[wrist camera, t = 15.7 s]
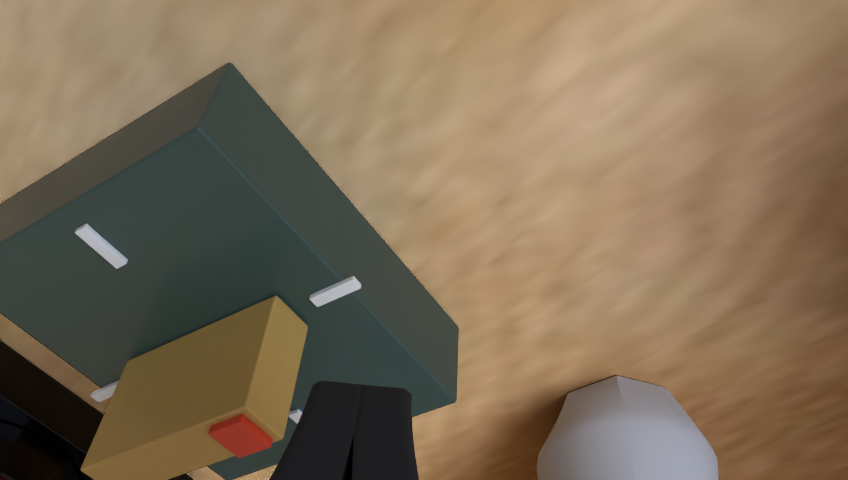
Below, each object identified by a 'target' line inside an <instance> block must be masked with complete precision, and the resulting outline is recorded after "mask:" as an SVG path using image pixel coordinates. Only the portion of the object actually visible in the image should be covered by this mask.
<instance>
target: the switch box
mask: <svg viewBox="0 0 848 480" xmlns="http://www.w3.org/2000/svg"><path fill="white" fill-rule="evenodd" d="M103 416H104V415H102V414H101V413H100V412H98V411H97V410H95V409H94V408H93V407H91V406H90V405H89V404H87V403H86V402H84V401H83V400H82V399H80V398H79V397H77V396H76V395H75V394H73V393H72V392H70V391H69V390H68V389H66V388H65V387H63V386H62V385H61V384H59V383H58V382H56V381H55V380H54V379H52V378H51V377H50V376H48V375H47V374H45V373H44V372H43V371H41V370H40V369H38V368H37V367H36V366H34V365H33V364H31V363H30V362H29V361H27V360H26V359H24V358H23V357H22V356H20V355H19V354H17V353H16V352H15V351H13V350H12V349H10V348H9V347H8V346H6V345H5V344H4V343H2V342H1V341H0V480H94V479H92V478H91V477H89V476H88V475H86V474H85V473H83V472H82V471H81V466H82V464H83V462H84V460H85V457H86V455H87V453H88V450H89V448H90V446H91V443H92V441H93V439H94V437H95V434H96V432H97V430H98V427H99V425H100V423H101V421H102V418H103ZM168 480H193V479H192V478H190V477H189V476H187V475H186V474H182V475H179V476H177V477H174V478H171V479H168Z"/></svg>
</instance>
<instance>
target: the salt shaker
mask: <svg viewBox="0 0 848 480" xmlns="http://www.w3.org/2000/svg"><path fill="white" fill-rule="evenodd" d="M537 477H538V480H718V460H717V458H716V455H715V453H714V451H713V448H712V446H711V445H710V443H709V442H708V441H707V439H706V438H705V437H704V435H703V434H702V433H701V431H700V430H699V429H698V427H697V426H696V425H695V424H694V422H693V421H692V420H691V418H690V417H689V416H688V415H687V413H686V412H685V411H684V410H683V408H682V407H681V406H680V405H679V403H678V402H677V401H676V400H675V398H674V397H673V396H672V395H671V393H670V392H669V391H668V389H667V388H666V387H662V386H658V385H653V384H649V383H645V382H641V381H637V380H633V379H629V378H625V377H621V376H617V375H616V376H614V377H611V378H608V379H605V380H603V381H600V382H597V383H594V384H591V385H589V386H586V387H583V388H580V389H578V390H575V391H572V392H569V393H568V394H567V397H566V400H565V402H564V405H563V407H562V410H561V413H560V415H559V418H558V419H557V421H556V423H555V425H554V427H553V429H552V430H551V432H550V434H549V436H548V438H547V439H546V441H545V443H544V445H543V447H542V449H541V450H540V452H539V455H538V463H537Z"/></svg>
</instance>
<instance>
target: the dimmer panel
mask: <svg viewBox="0 0 848 480" xmlns="http://www.w3.org/2000/svg"><path fill="white" fill-rule="evenodd" d="M273 296H278V297H279V298H280V299H281V300H282V301H283V302H284V303H285V304H286V305H287V306H288V307H289V308H290V309H291V310H292V311H293V312H294V313H295V314H296V315H297V316H298V317H299V318H300V319H301V320H302V321H303V322H304V323H305V324H306V325H307V326H308V330H307V335H306V339H305V344H304V348H303V353H302V357H301V362H300V366H299V371H298V375H297V380H296V384H295V389H294V393H293V398H292V402H291V407H290V411H289V416H288V420H287V425H286V429H285V434H284V437H283V439H281V440H278V441H276V442H273V443H272V446H271V447H270V448H267V449H264V450H261V451H259V452H256V453H253V454H250V455H247V456H244V457H241V458H238V457H237V456H233V457H230V458H228V459H225V460H222V461H219V462H216V463H213V464H211V465H208V466H207V467H209V468H210V469H211V470H213V471H214V472H215V473H217V474H218V475H220V476H221V477H222V478H224V479H225V480H233V479H236V478H239V477H242V476H245V475H247V474H250V473H253V472H256V471H259V470H262V469H265V468H268V467H270V466H273V465H276V464H278V463H279V461H280V459H281V457H282V455H283V453H284V451H285V449H286V447H287V445H288V443H289V441H290V439H291V437H292V435H293V433H294V431H295V428H296V426H297V424H298V422H299V419H300V417H301V415H302V412H303V410H304V407H305V405H306V402H307V400H308V397H309V394H310V391H311V388H312V385H313V384H315V383H317V382H319V381H331V382H341V383H352V384H362V385H373V386H383V387H394V388H405V389H406V390H407V391H408V392H410V393H411V394H412V403H411V412H412V417H414V416H417V415H420V414H423V413H426V412H429V411H432V410H435V409H437V408H440V407H443V406H446V405H449V404H452V403H455V402H456V400H457V366H458V331H459V329H458V326H457V325H456V324H455V323H454V321H453V320H452V319H451V318H450V317H449V316H448V315H447V313H446V312H445V311H444V310H443V309H442V308H441V306H440V305H439V304H438V303H437V302H436V301H435V299H434V298H433V297H432V296H431V295H430V294H429V292H428V291H427V290H426V289H425V288H424V287H423V285H422V284H421V283H420V282H419V281H418V280H417V278H416V277H415V276H414V275H413V274H412V273H411V271H410V270H409V269H408V268H407V267H406V266H405V265H404V263H403V262H402V261H401V260H400V259H399V258H398V256H397V255H396V254H395V253H394V252H393V251H392V249H391V248H390V247H389V246H388V245H387V244H386V242H385V241H384V240H383V239H382V238H381V237H380V235H379V234H378V233H377V232H376V231H375V230H374V228H373V227H372V226H371V225H370V224H369V223H368V221H367V220H366V219H365V218H364V217H363V216H362V215H361V213H360V212H359V211H358V210H357V209H356V208H355V206H354V205H353V204H352V203H351V202H350V201H349V199H348V198H347V197H346V196H345V195H344V194H343V192H342V191H341V190H340V189H339V188H338V187H337V185H336V184H335V183H334V182H333V181H332V180H331V178H330V177H329V176H328V175H327V174H326V173H325V171H324V170H323V169H322V168H321V167H320V166H319V164H318V163H317V162H316V161H315V160H314V159H313V158H312V156H311V155H310V154H309V153H308V152H307V151H306V149H305V148H304V147H303V146H302V145H301V144H300V142H299V141H298V140H297V139H296V138H295V137H294V135H293V134H292V133H291V132H290V131H289V130H288V128H287V127H286V126H285V125H284V124H283V123H282V121H281V120H280V119H279V118H278V117H277V116H276V114H275V113H274V112H273V111H272V110H271V109H270V108H269V106H268V105H267V104H266V103H265V102H264V101H263V99H262V98H261V97H260V96H259V95H258V94H257V92H256V91H255V90H254V89H253V88H252V87H251V85H250V84H249V83H248V82H247V81H246V80H245V78H244V77H243V76H242V75H241V74H240V73H239V71H238V70H237V69H236V68H235V67H234V66H233V64H231V63H228V64H226V65H224V66H222V67H221V68H219V69H218V70H216V71H214V72H213V73H211V74H210V75H208V76H206V77H205V78H203V79H201V80H200V81H198V82H197V83H195V84H193V85H192V86H190V87H189V88H187V89H185V90H184V91H182V92H181V93H179V94H177V95H176V96H174V97H172V98H171V99H169V100H168V101H166V102H164V103H163V104H161V105H160V106H158V107H156V108H155V109H153V110H151V111H150V112H148V113H147V114H145V115H143V116H142V117H140V118H139V119H137V120H135V121H134V122H132V123H131V124H129V125H127V126H126V127H124V128H122V129H121V130H119V131H118V132H116V133H114V134H113V135H111V136H110V137H108V138H106V139H105V140H103V141H101V142H100V143H98V144H97V145H95V146H93V147H92V148H90V149H89V150H87V151H85V152H84V153H82V154H80V155H79V156H77V157H76V158H74V159H72V160H71V161H69V162H68V163H66V164H64V165H63V166H61V167H60V168H58V169H56V170H55V171H53V172H51V173H50V174H48V175H47V176H45V177H43V178H42V179H40V180H39V181H37V182H35V183H34V184H32V185H30V186H29V187H27V188H26V189H24V190H22V191H21V192H19V193H18V194H16V195H14V196H13V197H11V198H10V199H8V200H6V201H5V202H3V203H1V204H0V313H1V314H2V315H3V316H5V317H6V318H8V319H9V320H10V321H12V322H13V323H14V324H16V325H17V326H18V327H20V328H21V329H22V330H24V331H25V332H26V333H28V334H29V335H30V336H32V337H33V338H35V339H36V340H37V341H39V342H40V343H41V344H43V345H44V346H45V347H47V348H48V349H49V350H51V351H52V352H53V353H55V354H56V355H58V356H59V357H60V358H62V359H63V360H64V361H66V362H67V363H68V364H70V365H71V366H72V367H74V368H75V369H76V370H78V371H79V372H80V373H82V374H83V375H85V376H86V377H87V378H89V379H90V380H91V381H93V382H94V383H95V384H97V385H98V386H99V387H101V388H100V389H98V390H95V391H93V392H92V393H91V395H90V397H92V398H93V399H95V400H96V401H97V402H101V401H103V400H106V399H108V398H110V397H112V395H113V393H114V391H115V388H116V386H117V384H118V382H119V379H120V377H121V375H122V372H123V370H124V368H125V366H126V363H127V362H128V361H129V360H131V359H133V358H135V357H138V356H140V355H142V354H144V353H147V352H149V351H151V350H153V349H156V348H158V347H160V346H162V345H165V344H167V343H169V342H171V341H174V340H176V339H178V338H180V337H183V336H185V335H187V334H189V333H192V332H194V331H196V330H198V329H201V328H203V327H205V326H207V325H210V324H212V323H214V322H216V321H219V320H221V319H223V318H225V317H228V316H230V315H232V314H234V313H237V312H239V311H241V310H243V309H246V308H248V307H250V306H252V305H255V304H257V303H259V302H261V301H264V300H266V299H268V298H270V297H273Z"/></svg>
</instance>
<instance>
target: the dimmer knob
mask: <svg viewBox="0 0 848 480" xmlns="http://www.w3.org/2000/svg"><path fill="white" fill-rule="evenodd" d="M307 330H308V326H307V325H306V324H305V323H304V322H303V321H302V320H301V319H300V318H299V317H298V316H297V315H296V314H295V313H294V312H293V311H292V310H291V309H290V308H289V307H288V306H287V305H286V304H285V303H284V302H283V301H282V300H281V299H280V298H279V297H278V296H273V297H270V298H268V299H266V300H264V301H261V302H259V303H257V304H255V305H252V306H250V307H248V308H246V309H243V310H241V311H239V312H237V313H234V314H232V315H230V316H228V317H225V318H223V319H221V320H219V321H216V322H214V323H212V324H210V325H207V326H205V327H203V328H201V329H198V330H196V331H194V332H192V333H189V334H187V335H185V336H183V337H180V338H178V339H176V340H174V341H171V342H169V343H167V344H165V345H162V346H160V347H158V348H156V349H153V350H151V351H149V352H147V353H144V354H142V355H140V356H138V357H135V358H133V359H131V360H129V361H128V362H127V363H126V366H125V368H124V370H123V372H122V375H121V377H120V379H119V382H118V384H117V386H116V388H115V391H114V393H113V395H112V398H111V400H110V402H109V405H108V407H107V409H106V411H105V414H104V416H103V418H102V421H101V423H100V425H99V427H98V430H97V432H96V434H95V437H94V439H93V441H92V443H91V446H90V448H89V450H88V453H87V455H86V457H85V460H84V462H83V464H82V466H81V471H82V472H83V473H85V474H86V475H88V476H89V477H91V478H92V479H94V480H168V479H171V478H174V477H177V476H179V475H182V474H185V473H188V472H191V471H194V470H196V469H199V468H202V467H205V466H208V465H211V464H213V463H216V462H219V461H222V460H225V459H228V458H230V457H233V456H237V457H238V458H241V457H244V456H247V455H250V454H253V453H256V452H259V451H261V450H264V449H267V448H270V447H271V446H272V443H273V442H276V441H278V440H281V439H283V437H284V434H285V429H286V425H287V420H288V416H289V411H290V407H291V402H292V398H293V393H294V389H295V384H296V380H297V375H298V371H299V366H300V362H301V357H302V353H303V348H304V344H305V339H306V335H307Z"/></svg>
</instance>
